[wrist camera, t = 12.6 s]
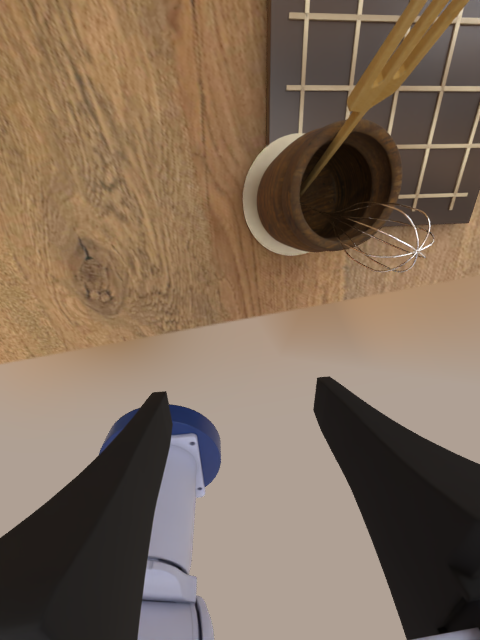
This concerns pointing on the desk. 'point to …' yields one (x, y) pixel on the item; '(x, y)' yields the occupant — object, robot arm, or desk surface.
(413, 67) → the utensil holder
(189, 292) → the desk surface
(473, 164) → the grid board
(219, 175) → the desk surface
